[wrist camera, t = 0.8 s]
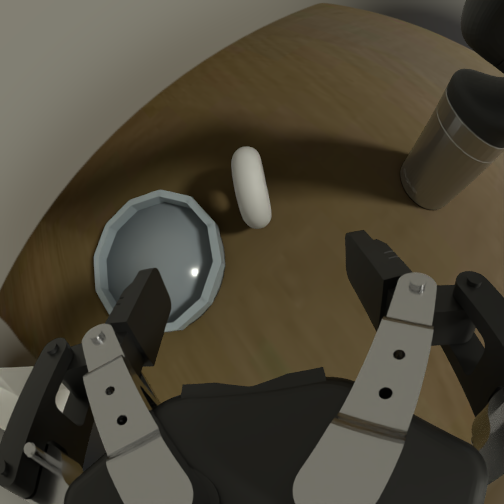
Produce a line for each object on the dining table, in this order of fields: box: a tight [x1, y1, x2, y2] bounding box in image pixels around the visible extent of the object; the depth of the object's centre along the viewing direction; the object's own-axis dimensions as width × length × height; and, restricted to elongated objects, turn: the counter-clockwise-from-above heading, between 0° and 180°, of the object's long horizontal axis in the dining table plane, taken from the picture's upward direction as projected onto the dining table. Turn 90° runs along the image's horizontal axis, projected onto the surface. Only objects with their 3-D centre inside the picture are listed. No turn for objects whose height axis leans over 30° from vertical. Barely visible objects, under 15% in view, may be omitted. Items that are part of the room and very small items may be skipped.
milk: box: [0, 366, 70, 430], centre depth 23 cm, size 6×6×22 cm
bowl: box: [94, 190, 225, 332], centre depth 35 cm, size 19×19×3 cm
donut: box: [231, 146, 271, 229], centre depth 32 cm, size 10×4×10 cm, turn 8°
